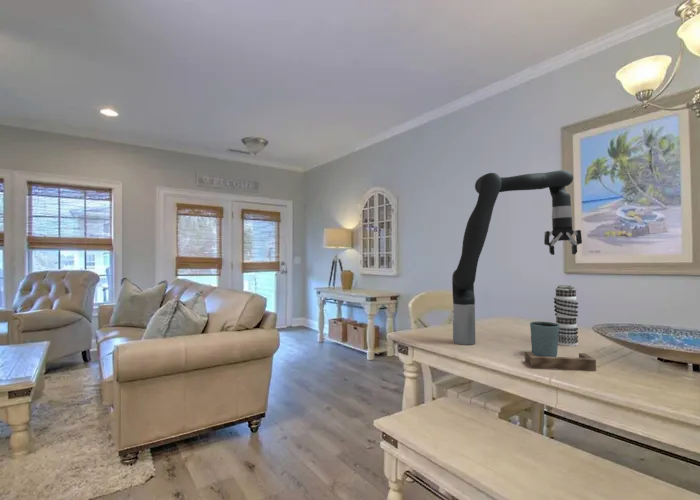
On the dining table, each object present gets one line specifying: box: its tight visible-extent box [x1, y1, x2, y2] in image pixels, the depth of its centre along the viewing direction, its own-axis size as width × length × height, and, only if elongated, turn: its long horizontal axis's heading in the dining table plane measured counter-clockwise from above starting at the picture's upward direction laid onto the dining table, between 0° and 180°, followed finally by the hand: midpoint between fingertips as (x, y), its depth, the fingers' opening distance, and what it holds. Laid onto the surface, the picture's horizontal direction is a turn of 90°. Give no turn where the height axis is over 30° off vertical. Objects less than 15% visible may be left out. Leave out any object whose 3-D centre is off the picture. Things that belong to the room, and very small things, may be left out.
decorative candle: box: [553, 284, 579, 347], centre depth 160 cm, size 9×9×25 cm
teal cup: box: [529, 321, 560, 357], centre depth 143 cm, size 10×10×12 cm
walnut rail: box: [524, 351, 597, 371], centre depth 129 cm, size 20×8×4 cm, turn 80°
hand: (563, 254), depth 160 cm, fingers open, 8 cm apart
